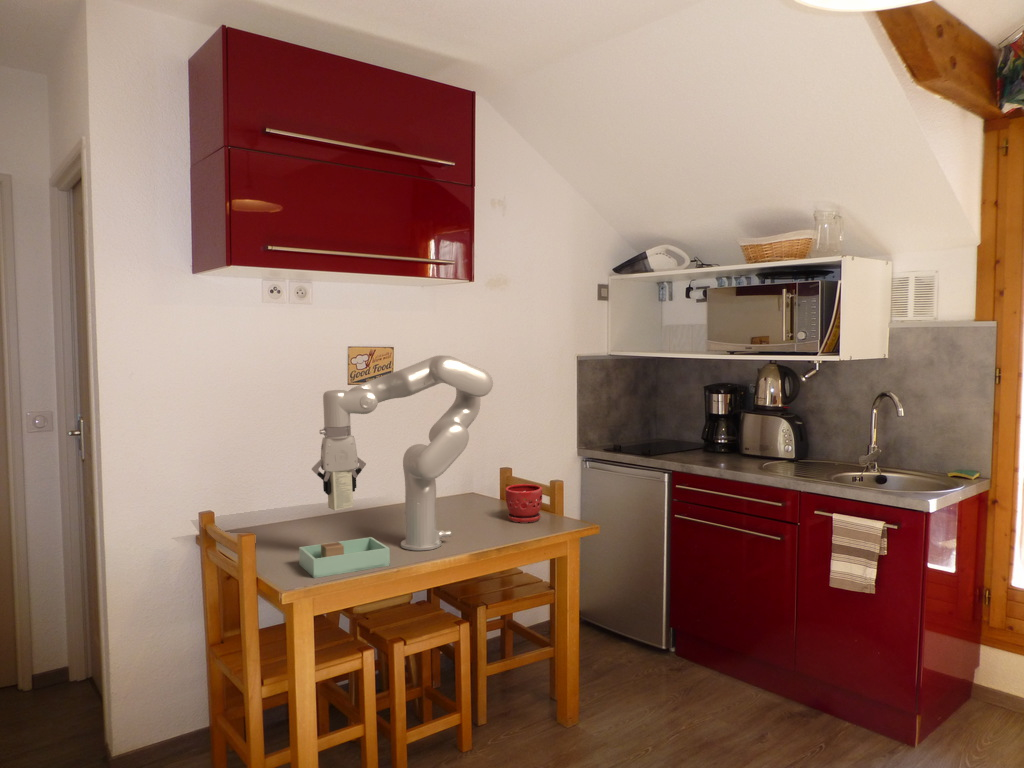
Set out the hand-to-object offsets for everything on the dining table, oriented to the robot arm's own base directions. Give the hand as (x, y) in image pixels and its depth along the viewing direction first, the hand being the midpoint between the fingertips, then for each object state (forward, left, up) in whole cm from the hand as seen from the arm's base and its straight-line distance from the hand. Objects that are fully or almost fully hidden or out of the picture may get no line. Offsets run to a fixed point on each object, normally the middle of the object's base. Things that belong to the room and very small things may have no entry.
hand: (340, 491), depth 219 cm
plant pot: (-70, -10, -19) cm, 73 cm away
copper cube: (+5, +8, -18) cm, 21 cm away
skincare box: (0, 0, -5) cm, 5 cm away
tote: (+2, +9, -19) cm, 21 cm away
